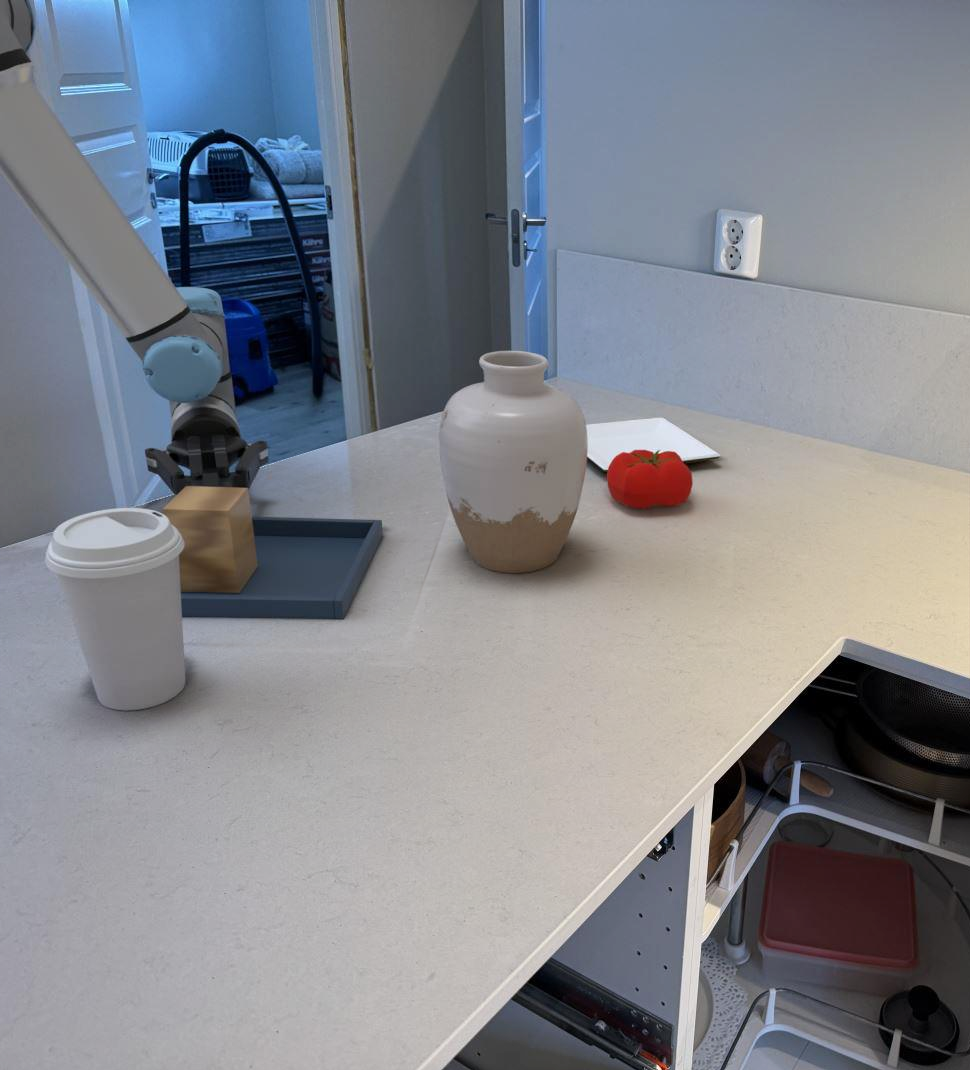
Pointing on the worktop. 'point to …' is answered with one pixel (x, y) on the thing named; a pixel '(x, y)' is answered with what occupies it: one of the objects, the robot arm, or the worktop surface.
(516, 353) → the vase
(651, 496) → the tomato
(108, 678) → the coffee cup
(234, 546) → the block
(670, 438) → the plate
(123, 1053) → the worktop surface
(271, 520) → the tray
